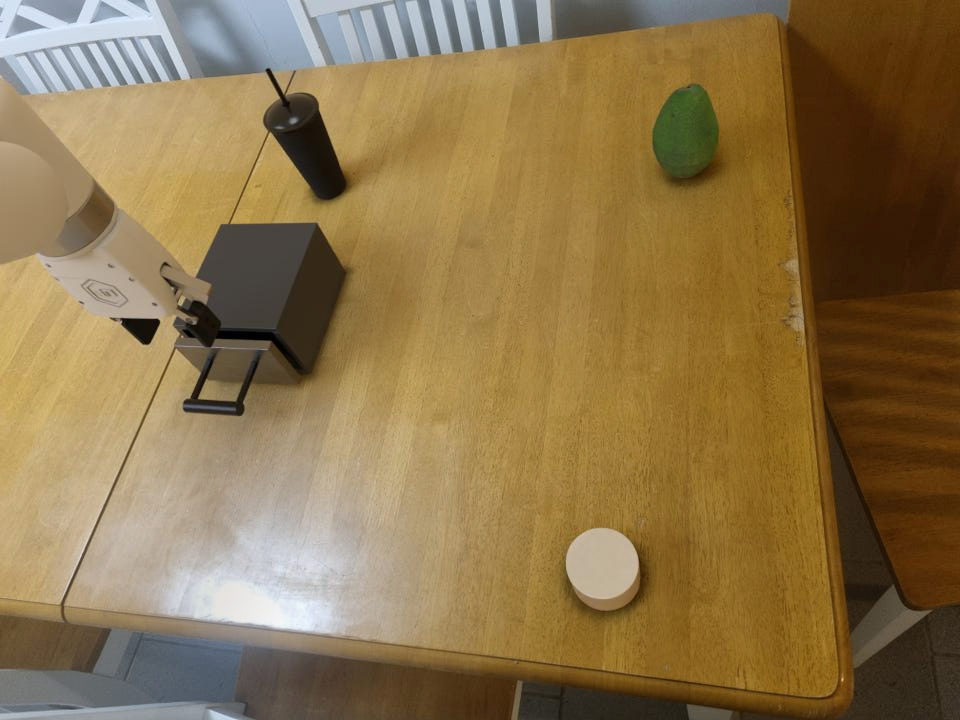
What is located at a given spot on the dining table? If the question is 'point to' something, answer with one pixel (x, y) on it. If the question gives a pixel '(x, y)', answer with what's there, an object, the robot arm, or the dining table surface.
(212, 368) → the drawer
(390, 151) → the dining table surface
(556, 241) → the dining table surface
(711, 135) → the fruit
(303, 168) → the drinking cup
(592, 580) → the white cylindrical puck
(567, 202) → the dining table surface
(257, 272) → the cabinet
